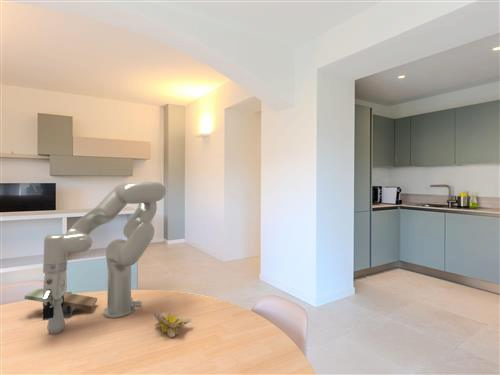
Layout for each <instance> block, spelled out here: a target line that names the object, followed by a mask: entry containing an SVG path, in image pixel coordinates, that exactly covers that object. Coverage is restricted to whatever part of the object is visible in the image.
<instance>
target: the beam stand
mask: <svg viewBox="0 0 500 375" xmlns="http://www.w3.org/2000/svg"><path fill="white" fill-rule="evenodd" d="M66 293H71V294H73V293H72V291H66ZM77 309H78V308H77V307H71V306H65V305H64V306H63V307H62V311H63V316H64V319H69V318H71V316H72V315H73V314H74V313H75V312H76V310H77ZM41 320H42V321H46V320H49V318H46V319H43V317H42V319H41Z"/></svg>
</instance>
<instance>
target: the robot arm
mask: <svg viewBox="0 0 500 375" xmlns="http://www.w3.org/2000/svg"><path fill="white" fill-rule="evenodd" d="M166 192H167V190H166V186H164V184H162V183H160V182H158V181H143V182H141V183H124V182H123V183H119V184H117V185H116V186H115V187H114V188H112V190H111V191H109V193H108V194H107V195H106V196H105V197H104V198H103V199H102V200H101V201H100V202H99V203H98V204H97V205H96V207H94V208H93V209H91V210H90V211H88V212H87V213H86V214H85V215H83V216H82V217H81V218H79V219H78V220H77V221H76V222H75V223H74V224H73V225H72V226H71V227H70V228H69V229H68V230H67V231H66V233H51V234H47V235H46V236H45V237H44V240H43V259H42V260H43V268H42V272H43V274H44V279H43V285H42V286H43V287H42V289H43V300H42V301H43V302H42V318H43V319H46V318H53V315H54V307H53V303H54V300H55V299H56V300H58V299H59V298H61V297H62V296H63V297H62V298H63V302H62V303H61V307H63V306H64V294H65V293H66V292H68V291H67V290H68V289H67V288H68V287H67V283H68V282H67V280H68V279H67V277H68V276H67V269H68V253H79V254H80V253H85V252H87V251H88V250H89V249H90V248H91V247H92V245H93V239H92V237H91V236H90V234H91V233H92V232H93V231H94V230H95V229H97V228H98V227H100V226H103V225H105V224H107V223H108V224H109V223H110V222H112V221H113V220H114V219H115V218H116V217H117V216H118V215H119V214H120V213H121V212H122V210H123V209H124V208H125V207H126V206H127V205H128V204H130V205H131V204H133V205H136V204H138V205H137V208H136V210H134V213H133V214H132V215H131V217H130V218H129V219H128V220H127V222H126V223H125V225H124V226H123V230H122V232H123V233H122V234H123V235H124V237H125V238H127V239H126V240H125V239H121V238H118V239H114V240H112V241H111V242H109V244H108V245H107V246H106V249H105V259H106V265H107V266H106V267H107V307H105V308H104V309H103V314H102V315H103V316H104V317H106V318H112V319H113V318H114V319H115V318H116V319H117V318H121V317H126V316H129V315H131V314H132V313H133V312H134V311H135V309H136V308H142V304H143V302H142V301H140V300H134V299H133V297H132V266H134V265H135V264H136V263H137V262H138V261H139V260H140V259H141V257H142V256H143V254H144V253H145V251H146V250H147V248H148V247H149V245H150V244H151V243H152V240H153V238H154V236H155V228H154V225H153V224H152V221H153V220H154V218H155V216H156V214H157V210H158V205H157V204H158V203H157V202H160V201H161V200H162V199H164V198H165V196H166ZM48 301H51V304H50V302H48Z"/></svg>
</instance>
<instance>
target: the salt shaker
mask: <svg viewBox="0 0 500 375" xmlns="http://www.w3.org/2000/svg"><path fill="white" fill-rule="evenodd" d="M49 302H50V304H51V301H49ZM62 302H63V298H62V297H61V298H59V299H58V300H56V299H55V300H54V303H53V307H54V315H53V318H49V320H48V321H47V327H46V329H47V331H48V333H49V334H50V335H56V334H60V333H62V332H63V331H64V329H65V326H66V320H65V318H64V316H63V311H62V307H61V303H62Z"/></svg>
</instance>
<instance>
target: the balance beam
mask: <svg viewBox="0 0 500 375" xmlns="http://www.w3.org/2000/svg"><path fill="white" fill-rule="evenodd" d="M62 297H63V296H62ZM23 299H24V300H28V301H33V302H34V301H35V302H41V303H43V301H42V300H43V288H41V287H34V288H33V289H32V290H30V291H29V292H28V293H26V294H25V295H24V297H23ZM48 302H49V301H48ZM97 302H98V297H93V296H89V295H81V294H76V293H72V294H71V293H65V294H64V305H65V306H71V307H77V309H84V310H90V311H91V310H92V309H93V308H94V306H95V304H96V303H97Z"/></svg>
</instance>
